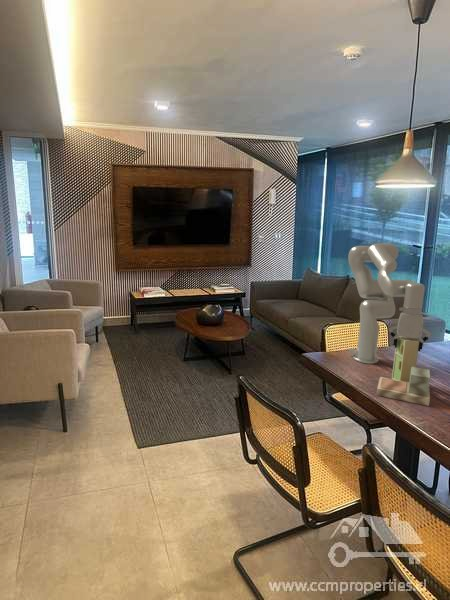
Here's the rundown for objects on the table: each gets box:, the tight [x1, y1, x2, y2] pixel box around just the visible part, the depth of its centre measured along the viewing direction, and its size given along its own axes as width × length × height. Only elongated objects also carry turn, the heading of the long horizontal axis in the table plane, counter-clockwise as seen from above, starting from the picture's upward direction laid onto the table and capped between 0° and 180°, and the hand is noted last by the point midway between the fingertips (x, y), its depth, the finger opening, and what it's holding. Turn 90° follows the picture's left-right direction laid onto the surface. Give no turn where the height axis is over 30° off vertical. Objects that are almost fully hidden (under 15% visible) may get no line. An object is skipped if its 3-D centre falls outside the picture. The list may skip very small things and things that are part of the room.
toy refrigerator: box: [391, 336, 420, 382], centre depth 190 cm, size 8×7×21 cm
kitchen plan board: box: [376, 366, 431, 407], centre depth 179 cm, size 20×14×11 cm
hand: (407, 348), depth 188 cm, fingers open, 9 cm apart
